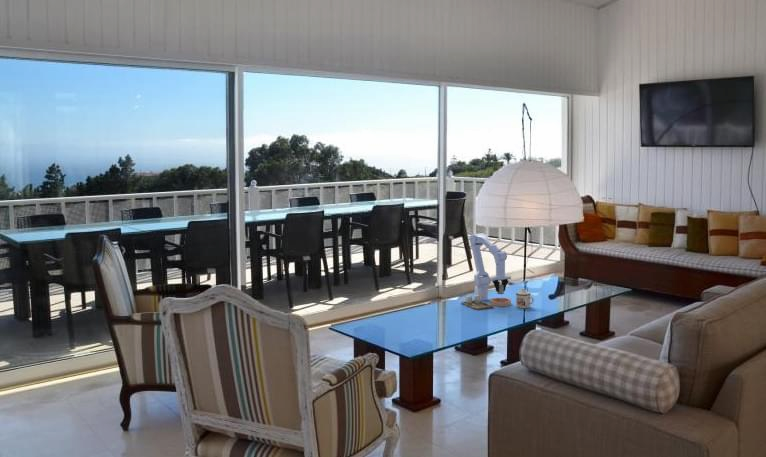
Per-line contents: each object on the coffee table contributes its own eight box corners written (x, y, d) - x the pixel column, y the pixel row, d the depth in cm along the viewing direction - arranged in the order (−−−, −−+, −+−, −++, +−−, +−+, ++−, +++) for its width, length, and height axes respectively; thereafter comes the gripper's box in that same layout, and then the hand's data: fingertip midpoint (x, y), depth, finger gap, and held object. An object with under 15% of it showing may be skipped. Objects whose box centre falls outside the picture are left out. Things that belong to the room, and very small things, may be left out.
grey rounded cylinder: (496, 293, 457) (496, 284, 456) (501, 292, 458) (501, 284, 457) (499, 294, 453) (499, 286, 452) (504, 293, 454) (504, 285, 454)
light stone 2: (473, 303, 459) (473, 295, 458) (478, 302, 460) (478, 294, 460) (476, 304, 455) (476, 296, 455) (481, 304, 457) (481, 295, 456)
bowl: (486, 303, 460) (486, 299, 459) (503, 301, 465) (503, 297, 464) (497, 307, 448) (497, 302, 448) (514, 305, 453) (514, 300, 453)
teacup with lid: (513, 307, 449) (513, 289, 448) (521, 304, 456) (521, 286, 454) (529, 309, 441) (529, 291, 440) (537, 307, 447) (537, 289, 446)
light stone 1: (464, 304, 457) (464, 296, 456) (470, 303, 458) (470, 295, 457) (468, 305, 453) (467, 297, 452) (473, 305, 454) (473, 296, 454)
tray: (461, 304, 459) (460, 302, 458) (477, 302, 464) (477, 300, 463) (476, 311, 441) (476, 308, 440) (493, 308, 446) (493, 306, 445)
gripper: (494, 272, 447) (494, 293, 449) (513, 270, 453) (513, 291, 455) (488, 270, 454) (488, 291, 455) (507, 268, 459) (507, 289, 461)
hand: (500, 291), depth 455 cm, fingers closed on grey rounded cylinder, 4 cm apart
